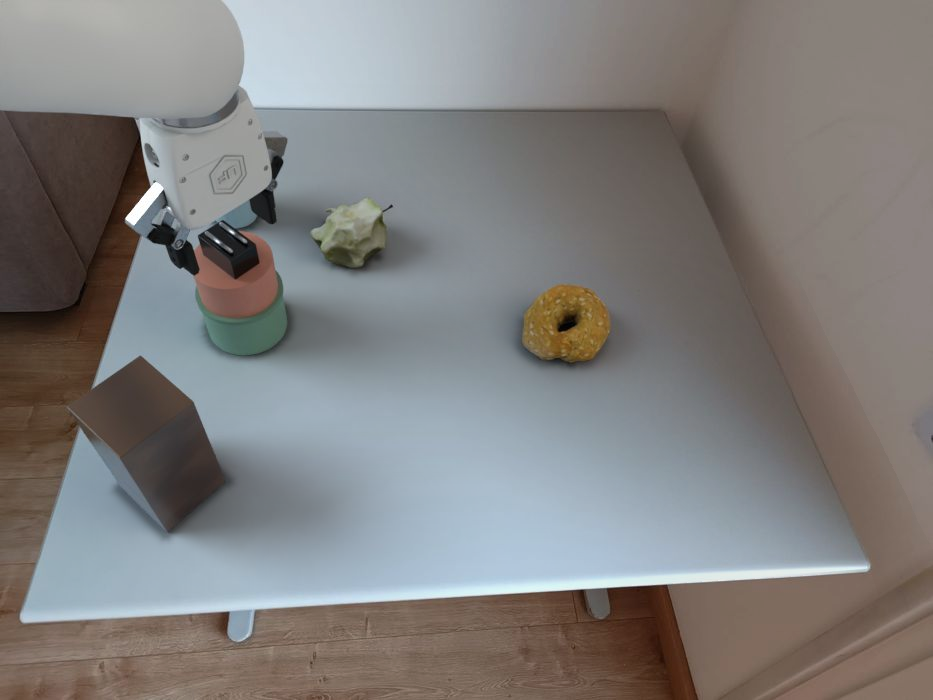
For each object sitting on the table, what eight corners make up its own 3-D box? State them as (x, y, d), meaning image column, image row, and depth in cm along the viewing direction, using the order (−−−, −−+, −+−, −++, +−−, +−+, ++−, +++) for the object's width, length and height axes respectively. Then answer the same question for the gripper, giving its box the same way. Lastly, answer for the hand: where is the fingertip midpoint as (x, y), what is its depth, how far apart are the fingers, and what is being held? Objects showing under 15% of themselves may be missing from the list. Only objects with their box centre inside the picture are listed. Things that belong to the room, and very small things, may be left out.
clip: (235, 280, 72) (229, 257, 69) (202, 254, 73) (196, 231, 71) (260, 263, 74) (255, 240, 71) (227, 239, 75) (221, 215, 72)
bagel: (501, 323, 86) (507, 298, 82) (573, 291, 90) (581, 265, 86) (550, 383, 81) (558, 359, 77) (623, 346, 85) (634, 321, 82)
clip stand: (167, 532, 67) (119, 458, 55) (121, 487, 69) (65, 406, 57) (226, 481, 71) (193, 401, 59) (180, 440, 73) (140, 354, 61)
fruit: (386, 231, 95) (398, 191, 88) (374, 287, 90) (386, 249, 83) (318, 213, 93) (324, 170, 87) (302, 269, 89) (307, 228, 82)
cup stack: (244, 371, 79) (226, 307, 70) (189, 326, 81) (165, 259, 73) (305, 323, 83) (296, 258, 74) (252, 282, 86) (237, 215, 77)
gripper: (125, 160, 52) (179, 309, 66) (301, 68, 61) (316, 216, 75) (64, 114, 54) (128, 268, 68) (242, 32, 63) (267, 182, 77)
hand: (227, 241), depth 71 cm, fingers open, 9 cm apart
